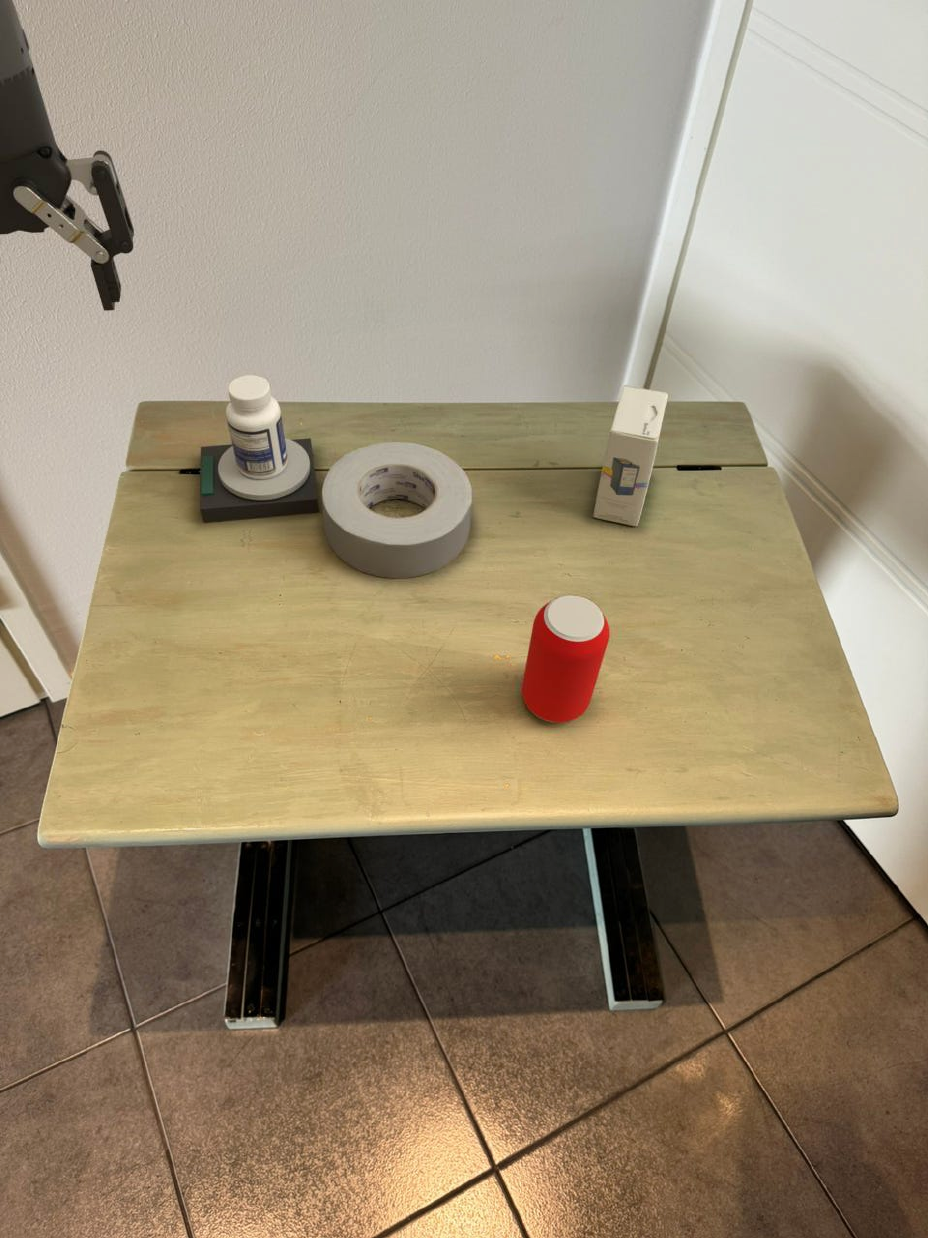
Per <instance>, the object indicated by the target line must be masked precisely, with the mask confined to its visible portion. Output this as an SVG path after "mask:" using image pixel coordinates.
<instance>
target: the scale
mask: <svg viewBox="0 0 928 1238" xmlns="http://www.w3.org/2000/svg"><path fill="white" fill-rule="evenodd" d="M285 442H286V448H287V455H288V463H287V465H286V467H285V469H284V470H283V471H282V472H281V473H279V474H278V475H276V476H274V477H271V478H267V479H254V478H250V477H247V476H245V475H244V474H243V473H241V472H240V470H239V469H238V467H237V463H236V459H235V455H234V450H233V445H232V443H231V444H218V445H205V446H200V469H199V471H200V473H199V474H200V475H199V476H200V477H199V481H200V483H199V511H200V516H201V518H202V522H203V524H204V523H205V524H206V523H207V524H208V523H217V522H219V523H220V522H229V521H239V520H251V519H260V518H261V519H262V518H272V517H274V518H275V517H284V516H294V515H305V514H316V513H320V506H319V496H318V489H317V481H316V480H317V479H316V472H315V461H314V454H313V453H314V452H313V445H312V438H311V437H307V438H296V439H289V438H286V437H285Z"/></svg>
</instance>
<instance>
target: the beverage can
mask: <svg viewBox="0 0 928 1238" xmlns="http://www.w3.org/2000/svg"><path fill="white" fill-rule="evenodd" d="M530 634H531V635H530V639H529V646H528V651H527V655H526V656H527V657H526V662H525V666H524V672H523V678H522V683H521V696H522V701H523V703H524V704H525V706H526V708H527V709H528V710H529V711H530V713H532V714H533V715H534V716H536V717H537V718H539V719H541V720H544V721H547V722H549V723H567V722H571V721H574V720H576V719H579V717H581V716H582V715H583V714H585V712H586V711H587V710H588V708H589V706H590V704H591V700H592V698H593V694H594V691H595V687H596V684H597V681H598V677H599V674H600V671H601V668H602V664H603V662H604V657H605V655H606V651H607V648H608V644H609V641H610V634H611V632H610V625H609V622H608V620H607V618H606V616H605V614H604V613H603V611H602V609H601V608H600V606H599V605H598V604H597V603H595V602H594V601H592V600H591V599H589V598H586V597H584V596H581V595H578V594H577V595H576V594H564V595H560V596H557V597H555V598H553V599H552V600H550V601H548V602H547V603H545V604H544V605H543V606H542V607H541V608H540V609H539V610H538V612H537V614H536V615H535V617H534V619H533V623H532V628H531V633H530Z"/></svg>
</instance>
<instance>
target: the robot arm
mask: <svg viewBox="0 0 928 1238" xmlns="http://www.w3.org/2000/svg"><path fill="white" fill-rule="evenodd" d="M73 180H74V181H78V182H79V183H81V184H82V185H83V187H84V189H85V190H86V191H87V193H88V194H90V195H92V196H98V199H99V202H100V205H101V208H102V211H103V214H104V217H105V220H106V223H107V226H108V229H107V230H103V229H102V228H101V227H100V226H99V225H98V224H97V223H95V222H94V221H93V220H92V219H91V218H90V217H89V216H88V215H87V213H86V211H85V210H84V209H83V208H82V207H81V206H80V205H79V204H78V203H77V202H76V201H75V200H74V199H73V198H72V197H70V196H69V195H68V192H69V190H70V188H71V185H72V181H73ZM48 228H51V229H52V230H53V231H54V232H56V234H57V235H59V236H60V237H61V238H62V239H63V240H64V241H66V242H67V243H69V244H73V245H75V246H76V247H77V248H78V249H80V250H81V251H82V252H83V253H84V254H85V255H87V256H88V257H89V258H90V268H91V271H92V272H91V273H92V275H93V279H94V282H95V286H96V289H97V291H98V296H99V298H100V302H101V306H102V308H103V311H104V312H108V311H115V309H116V303H120V301H121V294H122V293H121V292H122V285H121V281H120V277H119V272H118V269H117V265H116V263H115V259H114V258H115V257H116V256H117V255H120V254H125V255H126V254H130V253H131V252H133V250H134V237H135V229H134V225H133V223H132V218H131V215H130V213H129V210H128V206H127V203H126V200H125V197H124V193H123V191H122V187H121V184H120V181H119V178H118V174H117V171H116V168H115V165H114V162H113V158H112V156H111V155H110V154H109V153H108V152H107V151H105V150H101V149H100V150H97V151H95V152H94V153H93V155H92V157H84V158H73V159H68V158H67V157H66V156H65V155H64V154H63V152H62V151H61V150H60V148H59V146H58V144H57V141H56V138H55V135H54V132H53V128H52V125H51V121H50V118H49V115H48V111H47V108H46V105H45V101H44V99H43V94H42V92H41V88H40V85H39V81H38V78H37V74H36V71H35V68H34V65H33V61H32V57H31V54H30V45H29V40H28V38H27V35H26V32H25V29H24V28H23V27H22V23H21V20H20V18H19V14H18V11H17V8H16V6H15V3H14V1H13V0H0V236H1V235H10V234H13V233H16V232H24V233H30V234H39V233H40V234H41V233H45V231H46V229H48Z"/></svg>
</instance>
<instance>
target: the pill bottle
mask: <svg viewBox="0 0 928 1238" xmlns="http://www.w3.org/2000/svg"><path fill="white" fill-rule="evenodd" d="M270 386H271V385H270V384H269V381H268V380H267V379H265V378H263V377H262V376H258V375H254V374H247V375H241V376H239V377H236V378H235V379H233V380H231V382H230V383H229V385H228V387H227V391H228V397H229V403H228V404H227V406H226V409H225V416H226V417H225V418H226V423H227V427H228V433H229V437H230V440H231V444H232V445H233V450H234V455H235V459H236V463H237V467H238V469H239V470H240V472H241V473H243V474H244V475H245V476H247V477H250V478H254V479H267V478H271V477H274V476H276V475H278V474H279V473H281V472H282V471H283V470H284V469H285V467H286V465H287V463H288V455H287V448H286V442H285V438H286V437H285V430H284V429H285V428H284V423H283V417H282V411H281V407H280V404H279V403H278V401H277V400H276V399H275V398H274V397H273V396H272V392H271V388H270Z"/></svg>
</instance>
